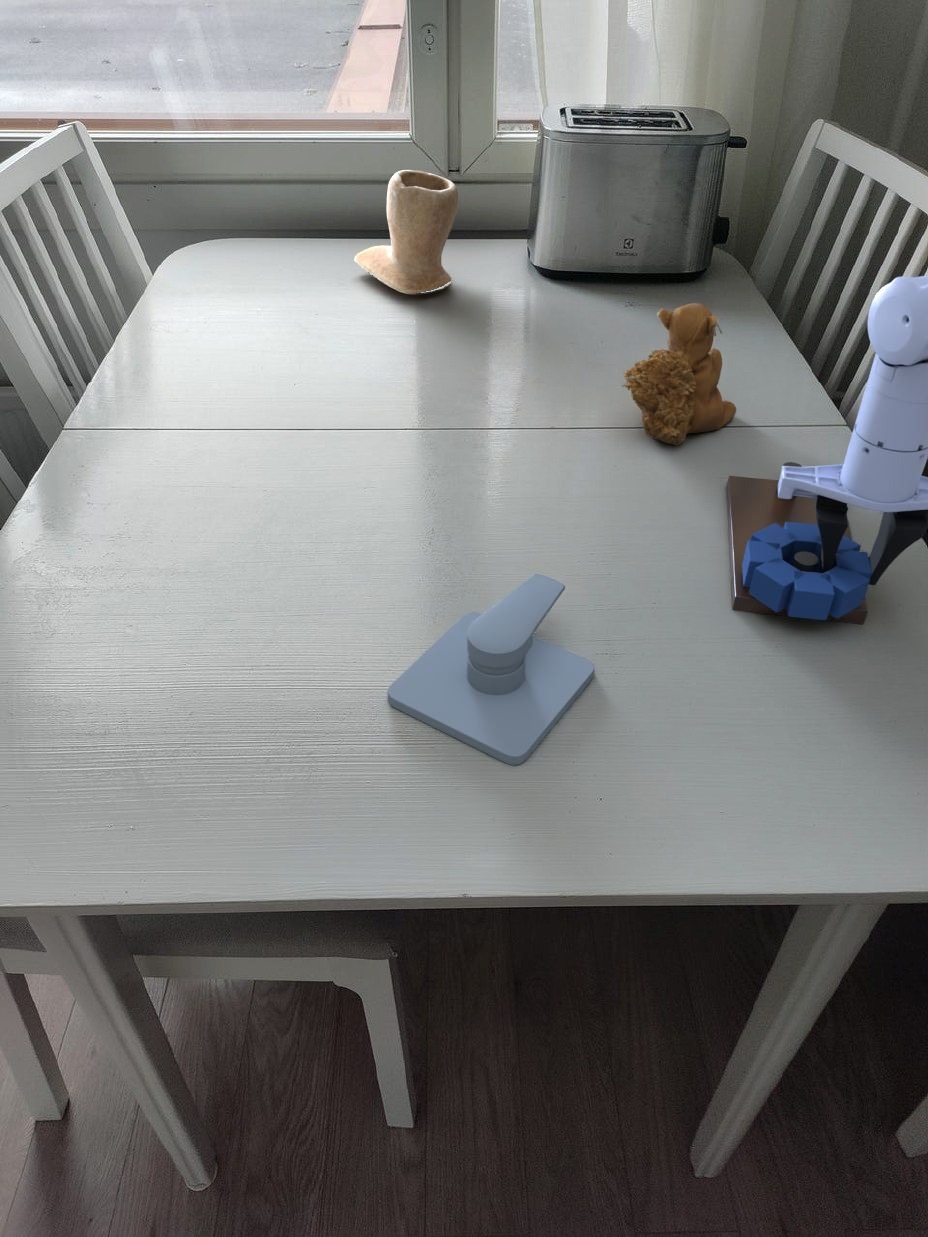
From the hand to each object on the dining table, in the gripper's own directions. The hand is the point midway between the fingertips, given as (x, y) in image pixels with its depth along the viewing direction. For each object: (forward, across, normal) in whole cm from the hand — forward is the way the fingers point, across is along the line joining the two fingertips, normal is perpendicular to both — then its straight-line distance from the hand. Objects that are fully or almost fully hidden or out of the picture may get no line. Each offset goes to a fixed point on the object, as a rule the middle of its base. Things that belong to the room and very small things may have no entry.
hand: (847, 575), depth 82 cm
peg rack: (+3, +4, -8) cm, 9 cm away
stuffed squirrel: (+3, +16, -29) cm, 33 cm away
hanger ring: (+1, +4, 0) cm, 4 cm away
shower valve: (+3, +27, +16) cm, 31 cm away
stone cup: (+3, +57, -64) cm, 86 cm away
